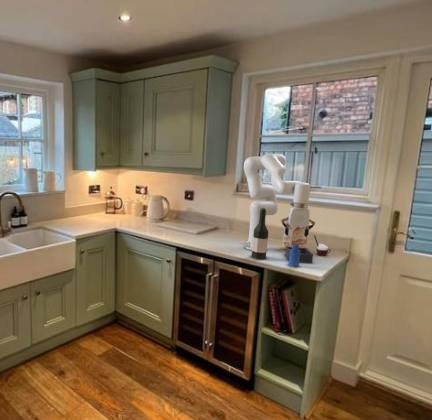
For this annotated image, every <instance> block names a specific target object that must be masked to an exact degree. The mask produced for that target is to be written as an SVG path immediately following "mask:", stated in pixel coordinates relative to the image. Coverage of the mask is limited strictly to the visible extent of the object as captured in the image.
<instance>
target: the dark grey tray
mask: <svg viewBox="0 0 432 420" xmlns="http://www.w3.org/2000/svg"><path fill="white" fill-rule="evenodd" d="M290 249H292V247H286V249H285V252H284V255H285V256H286V257H287V259H288V260H289V256H290ZM299 250H300V259H299V263H308V264H312V263H313V259H314V254H313V253H312V252H311V251H310V250H309V249H308V248H307V247H306V248H299Z"/></svg>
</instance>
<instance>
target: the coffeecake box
mask: <svg viewBox="0 0 432 420" xmlns="http://www.w3.org/2000/svg"><path fill="white" fill-rule="evenodd" d="M287 221H288V220H287ZM287 221H284V223H285V224H287ZM283 227H284V226H283ZM288 229H289V232H288V236H287V235H286V234H285V227H284V228H283V237H282V246H281V249H283V250H286V247H293V244H297V245H299V248H307V243H308V236H309V234H308V235H307V237H305V236H304V233H305V229H306V227H299V226H290V227H288Z"/></svg>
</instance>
